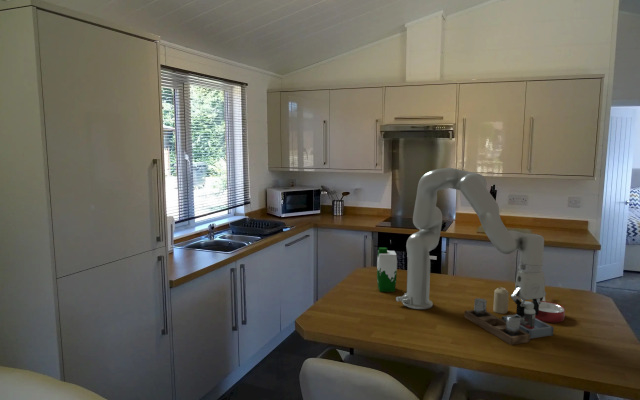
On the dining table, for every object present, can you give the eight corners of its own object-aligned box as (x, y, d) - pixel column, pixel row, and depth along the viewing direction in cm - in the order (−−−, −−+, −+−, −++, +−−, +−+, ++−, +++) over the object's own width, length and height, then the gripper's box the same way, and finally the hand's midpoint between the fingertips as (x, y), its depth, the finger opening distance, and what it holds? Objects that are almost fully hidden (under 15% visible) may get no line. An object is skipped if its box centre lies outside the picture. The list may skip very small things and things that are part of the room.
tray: (528, 338, 160) (529, 330, 160) (501, 323, 174) (502, 316, 173) (553, 335, 164) (553, 327, 163) (524, 320, 177) (525, 313, 177)
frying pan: (519, 295, 207) (520, 281, 207) (550, 297, 204) (551, 284, 203) (530, 321, 177) (531, 305, 176) (567, 325, 173) (569, 309, 172)
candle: (508, 314, 183) (510, 290, 182) (494, 313, 185) (495, 289, 183) (506, 309, 189) (507, 286, 188) (492, 308, 190) (493, 285, 189)
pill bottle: (516, 328, 168) (518, 303, 167) (521, 323, 172) (522, 299, 171) (531, 332, 165) (533, 306, 164) (536, 327, 169) (538, 302, 168)
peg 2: (511, 342, 158) (512, 320, 157) (502, 336, 162) (503, 315, 161) (521, 340, 159) (522, 318, 158) (512, 335, 163) (513, 314, 162)
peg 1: (478, 322, 175) (479, 302, 174) (471, 318, 179) (472, 298, 178) (487, 321, 176) (489, 301, 175) (480, 317, 180) (481, 297, 179)
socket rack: (510, 344, 156) (511, 338, 155) (464, 316, 180) (464, 310, 180) (529, 341, 158) (530, 335, 158) (481, 314, 183) (481, 308, 182)
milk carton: (375, 286, 218) (376, 245, 215) (394, 286, 218) (395, 246, 215) (377, 292, 209) (378, 250, 207) (397, 292, 209) (398, 250, 206)
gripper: (518, 272, 160) (515, 321, 162) (557, 268, 165) (553, 315, 167) (504, 266, 167) (501, 313, 169) (541, 263, 172) (538, 308, 174)
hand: (527, 314), depth 168 cm, fingers open, 5 cm apart
